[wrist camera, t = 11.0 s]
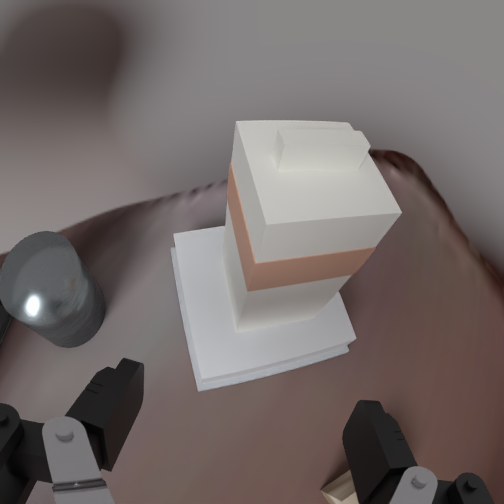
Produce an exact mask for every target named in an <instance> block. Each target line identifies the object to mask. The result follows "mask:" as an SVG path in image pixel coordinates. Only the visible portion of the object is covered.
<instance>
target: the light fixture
mask: <svg viewBox="0 0 504 504" xmlns="http://www.w3.org/2000/svg"><path fill="white" fill-rule="evenodd" d="M12 318H14V317H13V316H12V315H11V314H9V313H8V312H7V310H6V309H5V308H4V307H2V306H1V305H0V345H1V343H2V340H3V338H4V336H5V333H6V331H7V329H8V326H9V324H10V322H11V320H12Z"/></svg>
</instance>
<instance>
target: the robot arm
mask: <svg viewBox="0 0 504 504" xmlns="http://www.w3.org/2000/svg"><path fill="white" fill-rule="evenodd" d="M143 394H144V364H143V363H140V362H137V361H133V360H130V359H126V358H123V359H122V360H121V361H120V363H119V364H118V366H117V367H116V369H113V368H110V367H106V368H104V369H103V370H101V371H99V372H97V373H96V374H95V376H94V377H93V378H92V380H91V381H90V383H89V384H88V385H87V386H86V388H85V390H83V392H82V393H81V394H80V396H79V397H78V398H77V400H76V401H75V403H74V404H73V405H72V407H71V408H70V409H69V411H68V412H67V413H66V415H65V416H58V417H54V418H52V419H50V420H48V421H47V422H46V423H37V422H32V421H27V420H22V419H20V416H19V414H18V412H17V411H16V409H14V408H13V407H12V406H10V405H8V404H3V403H0V504H25V503H26V501H27V499H28V497H29V495H30V493H31V491H32V489H33V487H34V485H35V484H36V482H37V480H38V481H43V482H48V483H53V485H54V487H52V489H53V494H54V498H55V501H56V504H115V502H114V500H113V498H112V496H111V493H110V491H109V489H108V487H107V485H106V483H105V481H104V480H103V478H102V476H101V473H100V471H101V469H104V470H107V471H110V472H111V471H112V469H113V466H114V464H115V462H116V460H117V458H118V455H119V453H120V451H121V449H122V447H123V445H124V442H125V440H126V438H127V436H128V434H129V432H130V430H131V428H132V425H133V423H134V421H135V419H136V417H137V415H138V413H139V411H140V408H141V405H142V401H143ZM342 440H343V445H344V449H345V453H346V456H347V460H348V464H349V468H350V472H351V475H352V479H353V483H354V487H355V491H356V495H357V499H358V503H359V504H494V502H493V500H492V498H491V496H490V494H489V492H488V490H487V488H486V486H485V484H484V482H483V480H482V479H481V478H480V477H479V476H477V475H476V474H473V473H468V472H467V473H462V474H461V475H459V476H458V478H457V479H456V480H455V481H454V482H452V481H442V480H437V479H436V477H435V475H434V474H433V473H432V472H431V471H430V470H428V469H426V468H424V467H419V466H418V465H417V463H416V461H415V459H414V457H413V454H412V452H411V450H410V448H409V446H408V444H407V442H406V441H405V437H404V435H403V433H401V429H400V427H399V425H398V423H397V421H396V420H395V419H394V418H393V417H392V416H391V415H390V414H389V413H385V412H384V410H383V408H382V406H381V403H380V402H379V401H371V400H360V401H358V402H357V404H356V406H355V408H354V410H353V412H352V414H351V416H350V418H349V420H348V422H347V424H346V426H345V428H344V431H343V437H342Z"/></svg>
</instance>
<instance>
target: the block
mask: <svg viewBox="0 0 504 504" xmlns="http://www.w3.org/2000/svg"><path fill="white" fill-rule="evenodd" d="M320 491H321V492H322V493H323V495H324V496H325V498H326V499H327V501H328V502H329V503H330V504H359V503H358V499H357V495H356V491H355V487H354V483H353V479H352V475H351V472H350V470H348V471H347V472H346V473H344V474H343V475H341V476H340V477H339V478H337V479H336V480H334V481H333V482H331V483H330V484H328V485H327V486H325V487H324V488H322V489H321V490H320Z"/></svg>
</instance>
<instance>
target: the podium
mask: <svg viewBox="0 0 504 504" xmlns="http://www.w3.org/2000/svg"><path fill="white" fill-rule="evenodd" d="M224 233H225V226H220V227H213V228H207V229H200V230H194V231H188V232H182V233H175V234H174V240H175V247H173V248H170V249H171V255H172V262H173V268H174V274H175V280H176V286H177V291H178V297H179V303H180V308H181V313H182V318H183V324H184V329H185V334H186V338H187V343H188V348H189V353H190V357H191V362H192V366H193V371H194V375H195V380H196V384H197V388H198V392H200V391H205V390H210V389H215V388H220V387H225V386H230V385H234V384H238V383H243V382H247V381H251V380H255V379H259V378H263V377H267V376H271V375H275V374H279V373H283V372H286V371H290V370H293V369H297V368H300V367H304V366H307V365H311V364H314V363H317V362H320V361H324V360H327V359H330V358H333V357H336V356H339V355H342V354H345V353H347V352H349V349H348V346H347V345H348V344H349V343H351V342H352V341H354V340H355V339H357V338H356V336H355V333H354V330H353V327H352V325H351V322H350V319H349V317H348V314H347V311H346V309H345V306H344V303H343V301H342V298H341V296H340V293H339V291H338V292H337V293H336V294H335V295H334V297H333V298H332V299H331V300H330V301H329V302H328V303H327V304H326V306H325V307H324V308H323V309H322V310H321V311H320V312H319V313H318V314H317V315H316V317H315V318H313V319H308V320H303V321H298V322H292V323H287V324H282V325H276V326H271V327H265V328H259V329H254V330H248V331H242V332H236V328H235V323H234V318H233V313H232V308H231V303H230V298H229V293H228V288H227V283H226V277H225V272H224V267H223V262H222V256H223V244H224Z"/></svg>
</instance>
